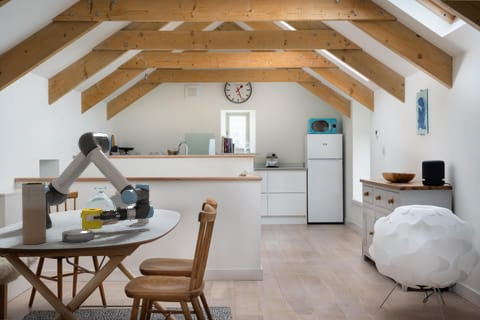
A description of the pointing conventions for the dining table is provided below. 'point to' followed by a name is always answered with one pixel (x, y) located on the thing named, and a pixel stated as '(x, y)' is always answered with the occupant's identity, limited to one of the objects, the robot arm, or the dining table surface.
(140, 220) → the foam cup
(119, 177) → the robot arm
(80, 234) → the grey metal disc
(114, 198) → the soap bottle
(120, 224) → the dining table surface
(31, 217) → the vase
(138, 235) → the dining table surface
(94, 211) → the tape roll
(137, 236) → the dining table surface
